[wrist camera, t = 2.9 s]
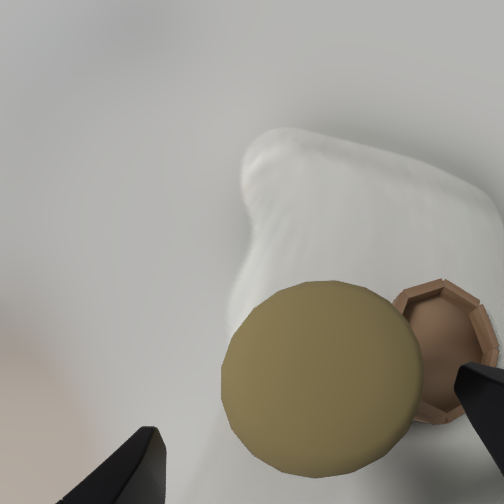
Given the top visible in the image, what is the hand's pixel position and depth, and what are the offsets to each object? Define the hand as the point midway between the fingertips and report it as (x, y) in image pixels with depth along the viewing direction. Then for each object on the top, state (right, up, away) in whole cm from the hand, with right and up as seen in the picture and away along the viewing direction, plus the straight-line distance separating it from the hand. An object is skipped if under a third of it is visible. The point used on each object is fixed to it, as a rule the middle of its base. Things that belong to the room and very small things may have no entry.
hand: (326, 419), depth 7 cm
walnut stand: (+9, -2, +9) cm, 13 cm away
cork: (0, -4, +8) cm, 9 cm away
